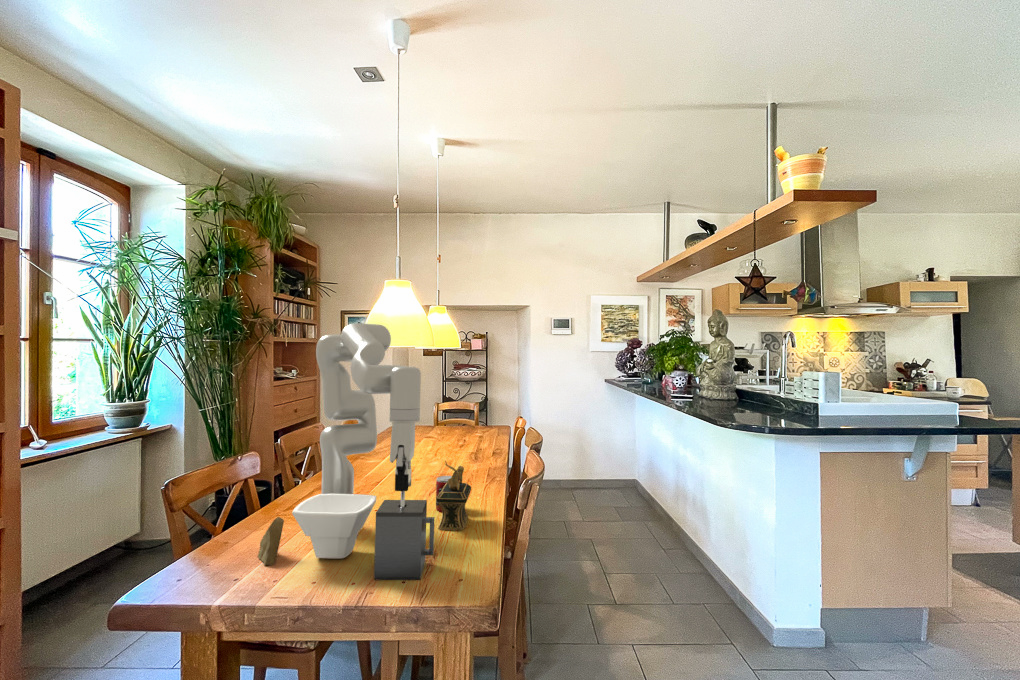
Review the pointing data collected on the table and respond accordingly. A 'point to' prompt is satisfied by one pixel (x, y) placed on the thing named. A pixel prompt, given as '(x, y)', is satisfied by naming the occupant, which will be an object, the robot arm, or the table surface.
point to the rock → (271, 542)
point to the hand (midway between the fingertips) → (402, 487)
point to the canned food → (439, 485)
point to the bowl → (333, 521)
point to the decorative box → (454, 501)
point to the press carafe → (402, 540)
